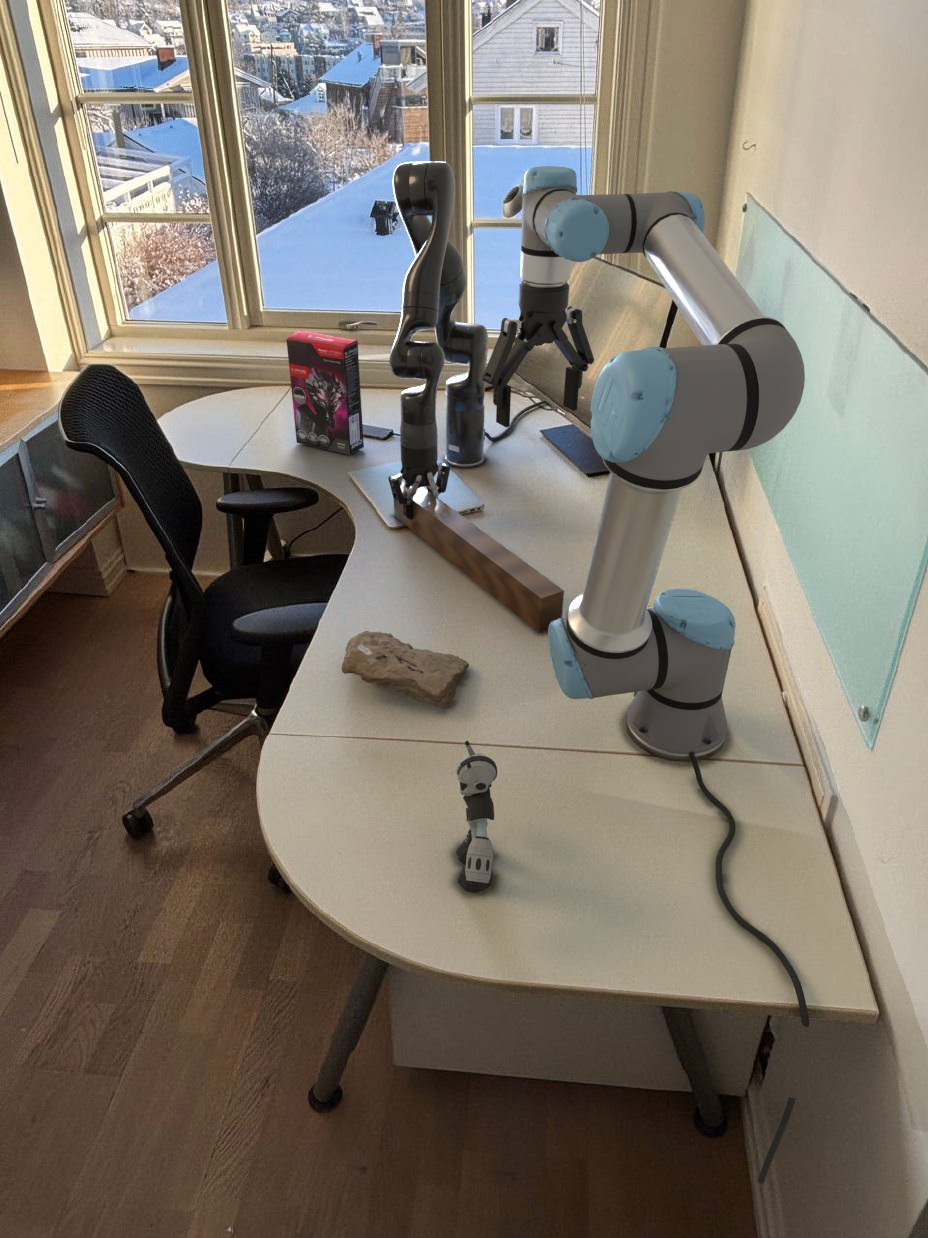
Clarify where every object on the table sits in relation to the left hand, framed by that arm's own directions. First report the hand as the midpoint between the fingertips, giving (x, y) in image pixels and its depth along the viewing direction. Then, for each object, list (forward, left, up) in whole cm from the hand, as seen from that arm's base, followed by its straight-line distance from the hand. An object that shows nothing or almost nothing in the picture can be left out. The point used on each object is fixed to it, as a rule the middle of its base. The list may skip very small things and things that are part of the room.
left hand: (420, 514), depth 196 cm
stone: (+53, +13, -3) cm, 54 cm away
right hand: (+26, +29, +35) cm, 52 cm away
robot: (+88, +35, -3) cm, 94 cm away
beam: (+13, +15, -3) cm, 20 cm away
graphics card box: (-34, -35, -3) cm, 49 cm away
